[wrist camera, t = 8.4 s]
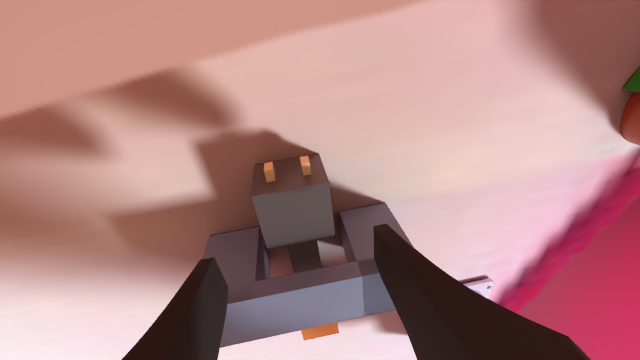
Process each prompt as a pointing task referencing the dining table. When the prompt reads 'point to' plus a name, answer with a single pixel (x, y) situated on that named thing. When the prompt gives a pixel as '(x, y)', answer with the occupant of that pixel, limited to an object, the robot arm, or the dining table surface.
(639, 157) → the dining table surface
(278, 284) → the housing
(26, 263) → the dining table surface
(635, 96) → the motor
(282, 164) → the plug
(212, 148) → the dining table surface
